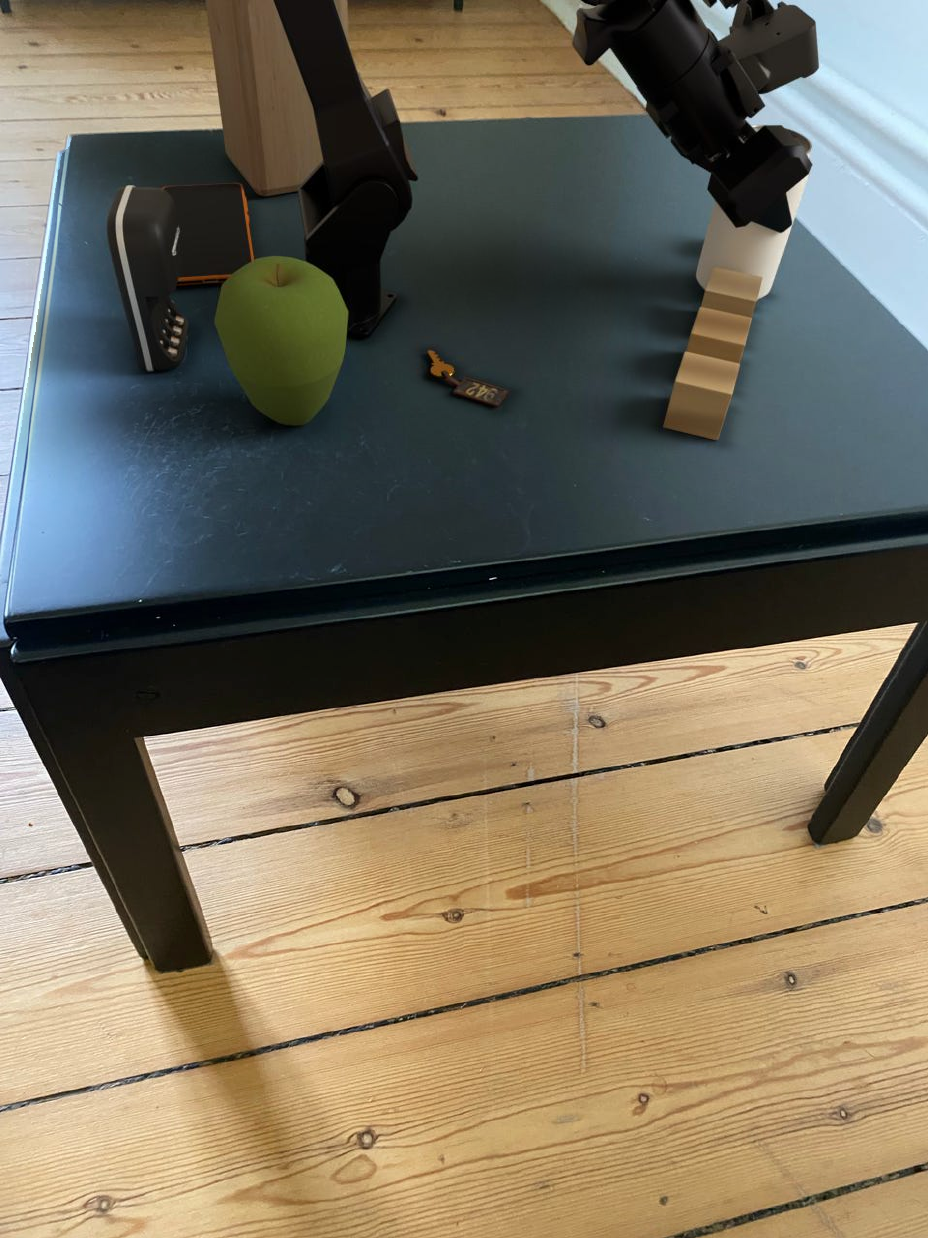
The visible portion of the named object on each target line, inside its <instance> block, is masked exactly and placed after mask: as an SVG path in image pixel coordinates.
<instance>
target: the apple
mask: <svg viewBox="0 0 928 1238" xmlns="http://www.w3.org/2000/svg"><path fill="white" fill-rule="evenodd" d="M213 322H214V325H215V328H216V331H217V334H218V337H219V339H220V342H221V345H222V348H223V351H224V353H225V357H226V359H227V361H228V364H229V367H230V369H231V372H232V373H233V375H234V377H235V378H236V381H237V382H238V384H239V385H240V387H241V388H242V390H243V392H244V393H245V395H246V396H247V399H248V400H249V402H250V404H251V405H252V406H253V407H254V408H256V410H258V411H259V412H260V413H261V414H263V415H264V416H266V417H267V418H269V419H271V420H273V421H274V422H276V423H278V424H280V425H286V426H295V427H296V426H305V425H306V424H309V423H310V422H311V421H312V420H313V419H314V418H315V417H316V416H317V414H318V413H319V412H320V411H321V409H323V407H324V406H325V404H326V403H327V402H328V400H329V399H330V396H331V394H332V391H333V388H334V386H335V383H336V380H337V378H338V376H339V372H340V370H341V368H342V365H343V362H344V357H345V353H346V347H347V336H348V335H347V323H348V310H347V307H346V305H345V303H344V301H343V298H342V296H341V294H340V291H339V289H338V287H337V286H336V284H335V282H334V280H333V278H331V277H330V276H328V275H327V274H326V273H324V272H323V271H321V270H320V269H319V268H317V267H315V266H313V265H312V264H310V263H308V262H306V260H303V259H298V258H295V257H290V256H282V255H269V256H261V257H257V258H254V261H252V262H250V263H248V264H246V265H245V266H243V267H242V268H240V269H239V270H237V271H235V272H234V273H233V274H232V275H231V276H230V277H229V278H228V279H227V280H226V281H225V282H222V284H221V288H220V293H219V297H218V302H217V306H216V311H215V316H214V320H213Z"/></svg>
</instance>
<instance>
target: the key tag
mask: <svg viewBox="0 0 928 1238" xmlns="http://www.w3.org/2000/svg"><path fill="white" fill-rule="evenodd" d="M427 356H428V357H429V359H430V360H431V362H432V363H431V364H430V366H431V368H430V370H429V372H430V374H431V375H432V376H433V377H435V378H437V379H443V380H444V381H445V382H446V383H447V384H448V385H450V386H453V387H456V388H454V390H453V392H452V393H453V394H454V395H457V396H461V397H464V398H467V399H469V400H473V401H477V402H479V403H483V404H487V405H489V406H492V407H496V408H499V407H500V405H501V404H502V403H503V401H504V400H505V399H506V397H507V396H508V395H509V393H510V389H506V388H503V387H500V386H497V385H494V384H491V383H488V382H484V381H483V380H479V379H474V378H472V377H467V376H464V377H463V378H462V379H461V381H458V380H457V379H456V378H454V377H453V375H455V367H454V366H452V365H450V364H449V363H445V361H441V358H439V355H438V354H436V352H435V351H434V350H431V349H429V350H428V351H427Z"/></svg>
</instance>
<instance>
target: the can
mask: <svg viewBox="0 0 928 1238" xmlns="http://www.w3.org/2000/svg"><path fill="white" fill-rule="evenodd" d="M764 125H765V124H754V125H751V126H752V127H753V128H754V129H755V130H756V132H757V131H758V130H760V129H761V128H762V127H763V126H764ZM784 128H785V129H786V130H787V131H788V132H789V133H790V134H791V135H792V136H793V137H794V138H795V139H796V140H797V141H798V142H799V143H800V144H801V145H802V147H803V149H804V151H805V152H806V154H807V156H808V157H809V159H810V160H811V157H810V152H811V151H812V149H813V145H812V142H811V140H810V139H809V138H808V137H807V136H805V135H803V134H802V133H800V132H798V131H795V130H793V129H790V128H787V127H784ZM738 139H739V140H740V141H741V142H742V144H743V143H745V142H743V140H742V139H741V138H740V137H739V136H738ZM729 156H730V155H729V154H728V155H727V157H729ZM809 176H810V173H809V174H808V175H807V176H806V177H805V178H803V179H802V180H801V181H800V182H799V183H797V184H796V185H795V186H794V187H793V188H791V189H790V190H789V191H788V192H787V193H786V194H787V199H788V204H789V209H790V213H791V218H792V225H791V226H790V227H789V228H788V229H787V230H785V231H784V232H783V233H778V232H776V231H773V230H771V229H769V228H766V227H764V226H761V225H759V224H756V223H754V222H750V223H749V224H748V225H747V226H744V227H739V228H736V227H735V226H734V225H733V224H732V222H731V221H730V220H729V218H728V217H727V216H726V215H725V213H724V212H723V211H722V209H721V208H720V207H719V205H718V204H717V202H716V201H715V200H714V202H713V206H712V210H711V214H710V217H709V221H708V225H707V229H706V231H705V236H704V240H703V244H702V248H701V252H700V255H699V259H698V264H697V268H696V273H695V278H696V280H697V282H698V285H699V287H700V288H701V290H703V291H704V292H705V290H706V287H707V284H708V281H709V278H710V275H711V272H712V269H713V267H717V268H722V269H727V270H732V271H736V272H741V273H746V274H751V275H755V276H760V277H763V279H762V283H761V286H760V290H759V294H758V298H757V301H759V300H761V299H763V298H764V297H765V296H767V295H768V294H769V293H770V292H771V289H772V287H773V285H774V282H775V279H776V275H777V273H778V271H779V267H780V264H781V260H782V258H783V255H784V252H785V249H786V245H787V243H788V239H789V236H790V233H791V230H792V228H793V225H794V222H795V218H796V217H797V212H798V209H799V206H800V202H801V201H802V197H803V194H804V192H805V188H806V185H807V182H808V179H809Z"/></svg>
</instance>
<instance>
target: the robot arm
mask: <svg viewBox="0 0 928 1238" xmlns="http://www.w3.org/2000/svg"><path fill="white" fill-rule="evenodd" d="M273 1H274V3H275V6H276V9H277V12H278V14H279V17H280V20H281V22H282V25H283V28H284V30H285V33H286V36H287V39H288V41H289V44H290V47H291V49H292V52H293V55H294V58H295V60H296V63H297V66H298V68H299V71H300V74H301V76H302V79H303V82H304V85H305V87H306V90H307V93H308V95H309V98H310V101H311V103H312V106H313V111H314V116H315V122H316V127H317V132H318V137H319V142H320V147H321V153H322V158H323V161H322V162H321V163H320V164H319V165H318V166H317V167H316V169H315V170H314V171H313V172H312V173H311V174H310V175H309V176H308V177H307V178H306V179H305V180H304V182H303V183H302V184H301V185H300V186H299V187H298V191H297V194H298V196H297V197H298V201H299V202H298V203H299V209H300V215H301V221H302V228H303V234H304V235H303V242H304V254H305V256H304V257H305V262H308V263H310V264H312V265H313V266H315V267H317V268H319V269H320V270H321V271H323V272H324V273H326V274H327V275H328V276H330V277H331V278H333V280H334V282H335V284H336V286H337V287H338V289H339V291H340V294H341V296H342V298H343V301H344V303H345V305H346V307H347V310H348V323H347V336H351V337H355V338H358V339H368V338H370V337H371V335H372V334H373V333H374V331H375V330H376V329H377V327H378V326H379V325H380V324H381V322H382V321H383V319H384V318H385V317H386V316H387V315H388V313H389V311H390V310H391V309H392V308H393V306H394V305H395V303H397V295H396V293H394V292H389V291H387V290H386V291H385V290H381V289H382V287H381V285H382V283H381V280H382V279H381V278H382V277H381V260H382V257H383V255H384V252H385V248H386V246H387V243H388V241H389V238H390V235H391V232H393V231H395V230H396V229H397V228H398V227H400V225H401V224H402V223H403V222H404V221H405V220H406V218H407V216H408V214H409V212H410V211H411V209H412V206H413V193H412V187H411V183H410V181H412V182H418V180H419V176H418V173H417V170H416V168H415V167H416V166H415V164H414V160H413V158H412V156H411V152H410V150H409V147H408V143H407V141H406V138H405V137H404V134H403V129H402V122H401V120H400V116H399V113H398V111H397V108H396V105H395V102H394V99H393V95H392V94H391V91H390V88H385V89H383V90H382V91H380V92H378V93H376V94H375V95H373V96H372V94H371V92H370V91H369V89H368V87H367V85H366V84H365V82H364V80H363V79H362V77H361V75H360V73H359V70H358V68H357V66H356V63H355V59H354V57H353V53H352V51H351V47H350V43H349V44H348V41H347V38H346V35H345V32H344V29H343V26H342V22H341V19H340V16H339V13H338V10H337V7H336V4H335V1H334V0H273ZM580 1H581V2H583V4H585V5H588V6H591V7H590V8H584V7H579V8H578V9H577V10H576V25H575V30H574V33H573V38H572V41H571V45H572V47H573V49H574V50H575V52H576V53H577V54H578V56H579V57H580V59H581V60H582V62H583V63H584V64H585V65H586V66H587V67H588V66H589V67H590V66H594V64H595V63H597V61H598V60H599V59H600V58H601V57H602V56H603V55H604V54H606V52H607V51H609V49H610V51H611V52H612V53H613V55H614V56H615V58H616V60H617V61H618V62H619V63H620V65H621V66H622V68H623V69H624V71H625V72H626V73H627V75H628V77H629V78H630V79H631V81H632V83H634V85H635V86H636V90H637V91H638V93H639V94H640V95H641V97H642V98H643V100H644V101H645V102H646V103H645V111H646V113H647V115H648V116H649V117H650V119H651V120H652V122H653V123H654V125H655V126H656V127H657V129H658V130H659V131H660V132H661V133H662V135H663V136H664V138H665V139H667V140H668V139H669V138H670V141H669V142H670V145H672V147H674V149H675V151H677V153H678V154H679V155H680V156H681V157H682V158H684V159H686V160H688V161H689V162H690V163H691V165H692V166H694V165H696V166H697V167H700V168H701V169H703V170H705V171H706V172H708V173H710V177H709V180H708V183H707V188H706V190H707V191H708V193H709V194H710V195H711V197H712V199H713V200H714V202H715V201H716V202H717V204H718V205H719V207H720V208H721V209H722V211H723V212H724V213H725V215H726V216H727V217H728V218H729V220H730V221H731V222H732V224H733V225H734V226H735V227H736V228H739V227H744V226H747V225H748V224H749V223H750V222H754V223H756V224H759V225H761V226H764V227H766V228H769V229H771V230H773V231H776V232H778V233H783V232H784V231H785V230H787V229H788V228H789V227H790V226H791V225H792V218H791V213H790V209H789V204H788V199H787V194H786V193H787V192H788V191H789V190H790V189H791V188H793V187H794V186H795V185H796V184H797V183H799V182H800V181H801V180H802V179H803V178H805V177H806V176H807V175H808V174H809V175H810V172H811V170H812V167H813V163H812V160H811V158H810V159H809V157H810V156H809V157H808V156H807V154H806V152H805V151H804V149H803V147H802V145H801V144H800V143H799V142H798V141H797V140H796V139H795V138H794V137H793V136H792V135H791V134H790V133H789V132H788V131H787V130H786V129H785V128H786V127H784V126H783V125H782V124H763V125H764V126H763V127H762V128H761V129H760V130H758V131H757V132H756V130H755V129H754V128H753V127H752V126H753V125H751V124H750V123H749V121H747V118H748V119H753V118H754V117H755V116H756V115H757V114H758V113H760V111H762V110H763V109H764V108H766V104H765V102H764V100H763V99H762V97H761V96H760V95H766V94H768V93H772V92H774V91H776V90H778V89H779V88H782V87H784V86H786V85H788V84H790V83H793V82H794V81H796V80H798V79H801V78H802V79H807V78H809V77H811V76H812V75H814V74H816V72H818V70H819V68H820V61H819V60H820V59H819V49H818V34H817V23H816V20H815V19H814V18H813V17H811V16H810V15H809V14H808V13H807V12H805V11H804V10H803V9H801V8H800V7H799V6H797V5H796V4H787V3H785V2H784V1H783V0H781V1H779V2H777V3H776V6H777V8H774V6H773V4H772V3H771V2H770V1H769V0H702V2H703V3H704V4H705V5H706V6H707V7H708V8H709V9H712V7H714V6H715V5H716V4H717V3H718V1H719V2H720V3H721V5H722V6H723V8H724V9H725V10H728V9H729V8H731V9H734V8H735V7H736V9H735V12H734V16H733V19H732V23H731V26H729V27H728V31H729V34H727V35H726V36H724V37H723V38H721V39H718V38H717V36H716V35H715V32H714V31H712V29H710V28H709V27H707V25H706V24H705V22H704V20H703V18H702V17H701V15H700V14H699V11H698V10H697V9H696V7H695V5H694V4H693V2H692V0H580ZM738 136H739V137H740V138H741V139H742V140H743V142H745V143H743V144H742V142H741V141H740V140H739V139H738ZM728 154H729V155H730V156H729V157H727V155H728ZM792 226H793V225H792Z"/></svg>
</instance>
